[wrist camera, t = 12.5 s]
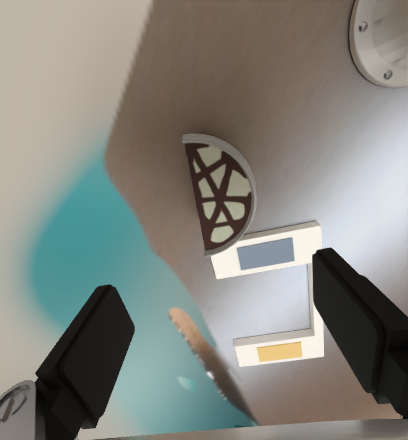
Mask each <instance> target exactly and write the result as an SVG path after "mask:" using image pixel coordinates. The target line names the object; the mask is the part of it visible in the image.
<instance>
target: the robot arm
mask: <svg viewBox="0 0 408 440" xmlns="http://www.w3.org/2000/svg"><path fill="white" fill-rule="evenodd" d="M358 28H359V29H358ZM349 41H350V50H351V54H352V57H353V60H354V63H355V64H356V66H357V68H358V70H359V71H360V73H361V74H362V75H363V76H364V77H365V78H366V79H368V80H369V81H371V82H372V83H374V84H376V85H380V86H383V87H392V88H397V87H403V86H408V0H356V1H355V4H354V6H353V11H352V16H351V20H350V31H349ZM312 274H313V302H314V305H315V308H316V309H317V311H318V313H319V314H320V316H321V318H322V320H323V321H324V323H325V325H326V326H327V328H328V330H329V331H330V333H331V335H332V337H333V338H334V340H335V342H336V343H337V345H338V347H339V348H340V350H341V352H342V353H343V355H344V357H345V359H346V360H347V362H348V364H349V365H350V367H351V369H352V370H353V372H354V374H355V376H356V377H357V379H358V381H359V382H360V384H361V386H362V387H363V389H364V390H365V391H366V392H367V393H372V395H373V397H374V398H375V400H376V402H377V403H378V404H386V403H391V405H392V406H393V408H394V409H395V411H396V412H397V413H399V414H400V419H369V420H349V421H330V422H313V423H300V424H286V425H272V426H258V427H244V428H232V429H218V430H205V431H192V432H180V433H167V434H155V435H142V436H130V437H119V438H107V439H95V440H408V317H407V316H406V315H405V314H404V313H403V312H402V311H401V310H400V309H399V308H398V307H397V306H396V305H395V304H394V303H393V302H392V301H390V300H389V299H388V298H387V297H386V296H385V295H384V294H383V293H382V292H381V291H380V290H379V289H378V288H377V287H376V286H375V285H374V284H373V283H372V282H370V281H369V280H368V279H367V278H366V277H365V276H362V275H359V274H358V273H357V272H356V271H355V270H354V269H353V268H352V267H351V266H350V265H349V264H348V263H347V262H346V261H345V260H344V259H343V258H342V257H341V256H340V255H339V254H338V253H337V252H336V251H335V250H334V249H332V248H325V249H319V250H316V253H315V254H313V255H312ZM134 331H135V327H134V324H133V322H132V320H131V318H130V316H129V314H128V312H127V310H126V308H125V305H124V303H123V302H122V299H121V297H120V295H119V293H118V291H117V289H116V288H115V287H113V286H112V285H103V286H98V287H97V288H96V289H95V291H94V292H93V293H92V295H91V296H90V298H89V299H88V300H87V302H86V303H85V305H84V306H83V307H82V309H81V310H80V312H79V313H78V314H77V316H76V317H75V318H74V320H73V321H72V323H71V324H70V326H69V327H68V328H67V330H66V331H65V332H64V334H63V335H62V337H61V338H60V339H59V341H58V342H57V343H56V345H55V346H54V348H53V349H52V351H51V352H50V353H49V355H48V356H47V358H46V359H45V360H44V362H43V363H42V364H41V366H40V367H39V369H38V370H37V371H36V373H35V374H36V375H37V377H38V379H37V380H36V382H33V381H32V380H25V381H23V382H20V383H18V384H16V385H14V386H12V387H11V388H10V389H8V390H7V391H6V392H4V393H3V394H2V395H1V396H0V440H78V432H79V430H80V428H82V429H90V428H96V426H97V423H98V420H99V418H100V417H101V416H102V415H103V414H104V412H105V409H106V407H107V404H108V401H109V398H110V396H111V393H112V391H113V388H114V385H115V383H116V380H117V377H118V375H119V372H120V369H121V367H122V364H123V361H124V359H125V356H126V353H127V351H128V348H129V345H130V342H131V340H132V337H133V335H134Z"/></svg>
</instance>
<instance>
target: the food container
mask: <svg viewBox="0 0 408 440" xmlns="http://www.w3.org/2000/svg"><path fill="white" fill-rule="evenodd" d="M182 143H184V144H185V147H186V153H187V157H188V161H189V167H190V172H191V177H192V183H193V188H194V194H195V199H196V205H197V210H198V214H199V219H200V225H201V230H202V235H203V240H204V257H208V256H213V255H216V254H218V253H221V252H223V251H225V250H227V249H229V248H230V247H231V246H233V245H234V244H235V243H236V242H237V241H239V240H240V239H241V237H242V236H243V235H244V234H245V232H246V231H247V230H248V228H249V226H250V224H251V223H252V220H253V218H254V215H255V211H256V206H257V186H256V180H255V177H254V174H253V171H252V169H251V167H250V166H249V164H248V162H247V161H246V159H245V158H244V157H243V155H242V154H241V153H240V152H239V151H238V150H236V149H235V148H234V147H233V146H232V145H230V144H228V143H227V142H225V141H223V140H221V139H219V138H216V137H214V136H210V135H205V134H195V133H192V134H183V137H182Z"/></svg>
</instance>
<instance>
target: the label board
mask: <svg viewBox="0 0 408 440" xmlns="http://www.w3.org/2000/svg"><path fill="white" fill-rule="evenodd" d="M319 249H322V239H321V225H320V224H319V223H318V222H317V221H314V222H309V223H304V224H299V225H293V226H288V227H283V228H278V229H273V230H268V231H263V232H258V233H252V234H247V235H243V236H242V237H241V239H240V240H239V241H237V242H236V243H235V244H234V245H233V246H231V247H230V248H229V249H227V250H225V251H223V252H221V253H218V254H216V255H213V256H211V259H212V263H213V267H214V271H215V274H216V278H217V279H221V278H227V277H233V276H239V275H244V274H250V273H256V272H262V271H267V270H273V269H279V268H285V267H291V266H296V265H302V264H308V281H309V301H310V320H311V329H305V330H297V331H290V332H283V333H276V334H268V335H261V336H254V337H247V338H240V339H234V346H235V350H236V354H237V358H238V362H239V365H240V367H243V366H251V365H259V364H267V363H275V362H284V361H292V360H300V359H308V358H316V357H324V341H323V320H322V318H321V316H320V314H319V313H318V311H317V309H316V308H315V305H314V302H313V274H312V255H313V254H315V253H316V250H319Z"/></svg>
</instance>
